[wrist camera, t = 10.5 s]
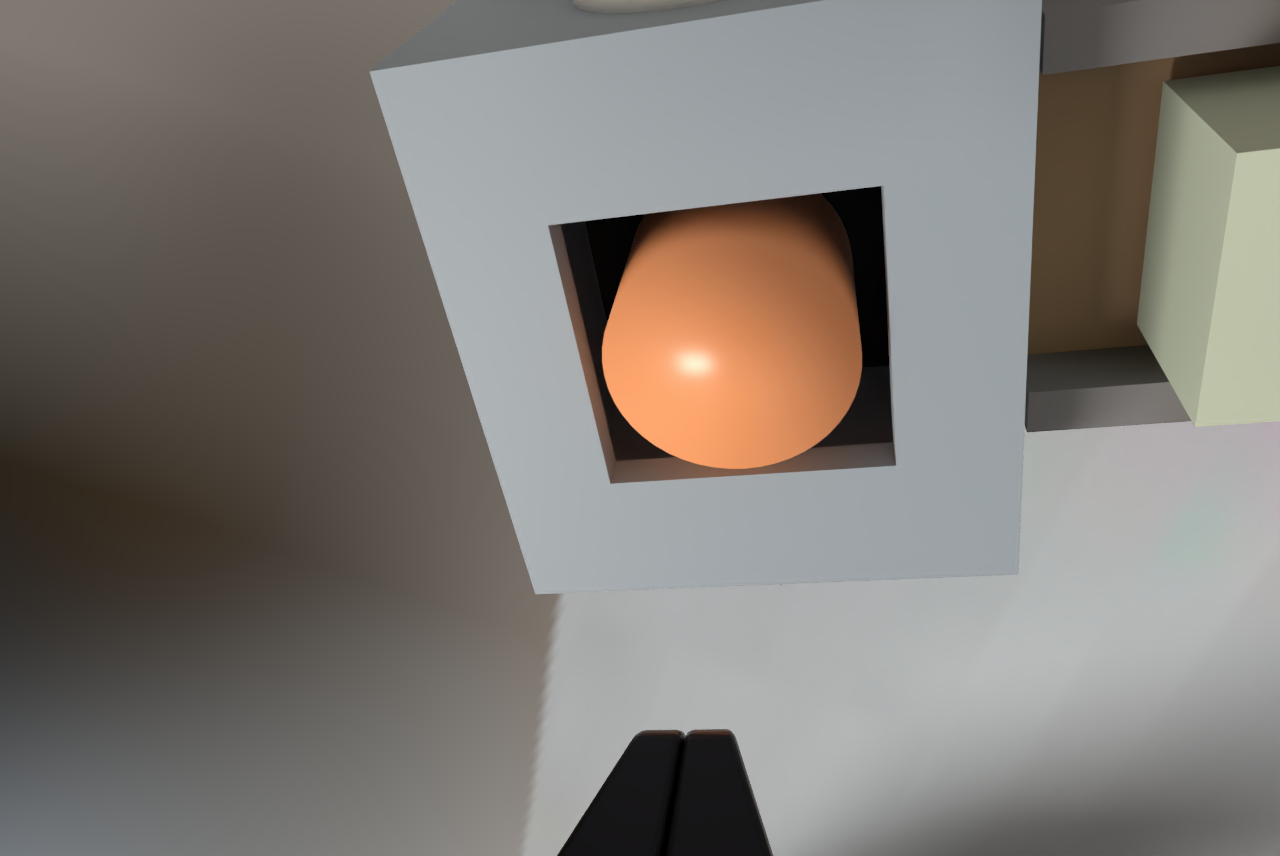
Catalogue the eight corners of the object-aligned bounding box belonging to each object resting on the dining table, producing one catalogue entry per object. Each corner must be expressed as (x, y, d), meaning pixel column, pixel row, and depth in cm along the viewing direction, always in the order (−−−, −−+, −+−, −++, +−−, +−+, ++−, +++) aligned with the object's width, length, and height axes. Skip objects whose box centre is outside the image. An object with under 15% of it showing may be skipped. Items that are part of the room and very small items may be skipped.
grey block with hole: (584, 430, 22) (535, 594, 18) (469, -33, 17) (361, 47, 12) (973, 401, 20) (1018, 574, 16) (977, -123, 15) (1044, -65, 11)
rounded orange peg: (650, 373, 18) (626, 475, 15) (611, 178, 16) (578, 261, 13) (858, 355, 17) (868, 460, 15) (845, 148, 15) (854, 230, 13)
